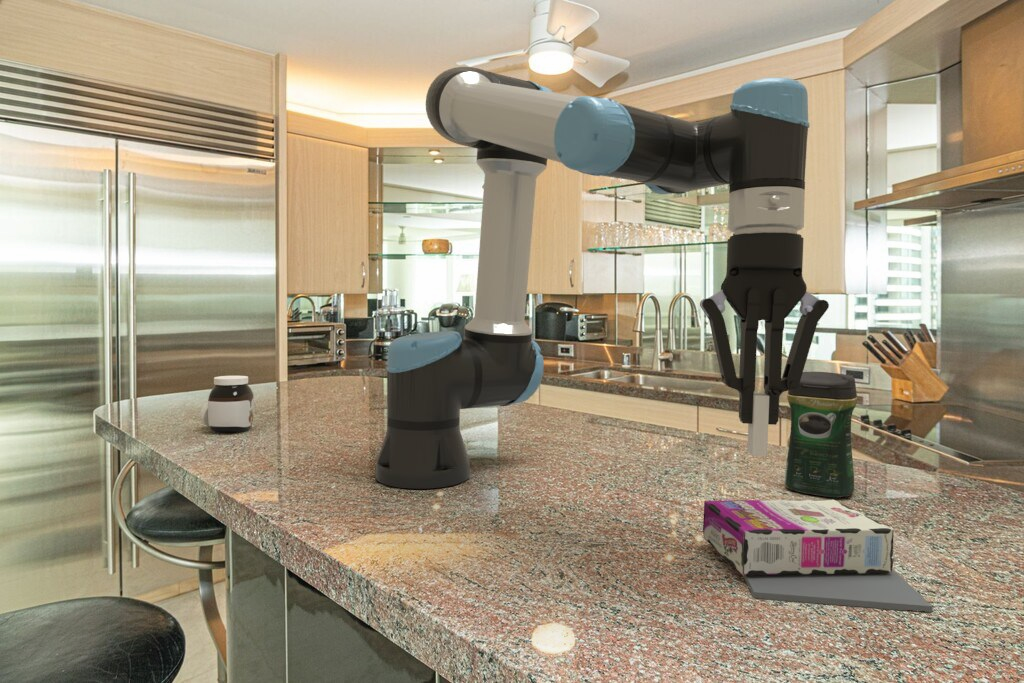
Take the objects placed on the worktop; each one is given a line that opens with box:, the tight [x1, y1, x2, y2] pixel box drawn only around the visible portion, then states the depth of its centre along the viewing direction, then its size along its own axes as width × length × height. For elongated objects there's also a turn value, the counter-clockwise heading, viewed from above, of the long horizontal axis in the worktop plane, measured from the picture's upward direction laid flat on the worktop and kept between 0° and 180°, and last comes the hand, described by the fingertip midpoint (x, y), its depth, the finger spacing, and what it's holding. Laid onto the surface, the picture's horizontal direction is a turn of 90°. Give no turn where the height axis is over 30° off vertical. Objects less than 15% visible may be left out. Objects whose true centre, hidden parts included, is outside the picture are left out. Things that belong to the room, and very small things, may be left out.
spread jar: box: [199, 375, 255, 435], centre depth 141 cm, size 12×11×12 cm
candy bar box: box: [702, 499, 895, 576], centre depth 72 cm, size 11×5×16 cm
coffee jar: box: [784, 371, 858, 498], centre depth 100 cm, size 10×8×19 cm
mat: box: [742, 568, 934, 613], centre depth 70 cm, size 16×16×1 cm
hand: (756, 453), depth 70 cm, fingers closed
